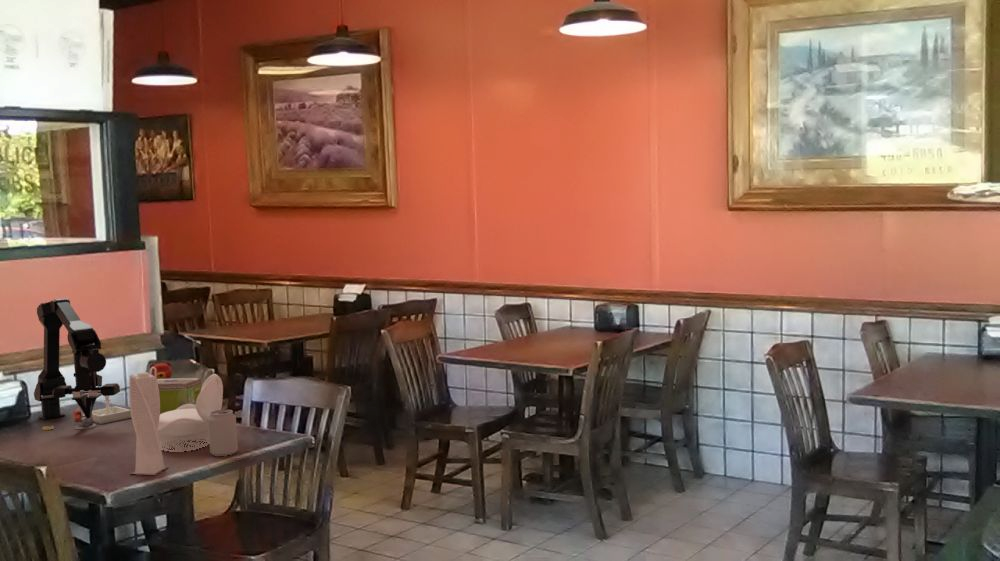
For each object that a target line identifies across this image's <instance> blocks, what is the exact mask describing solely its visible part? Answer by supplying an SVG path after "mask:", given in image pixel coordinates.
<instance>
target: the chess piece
mask: <svg viewBox="0 0 1000 561" xmlns="http://www.w3.org/2000/svg"><path fill="white" fill-rule="evenodd" d="M103 401H104V402H105V408H106V410H105V414H103V415H107V414H112V413H111V410H110V407H111V406H110V401H111V399H110V396H104V399H103ZM101 416H102V415H101Z"/></svg>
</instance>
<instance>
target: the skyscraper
mask: <svg viewBox="0 0 1000 561" xmlns="http://www.w3.org/2000/svg"><path fill="white" fill-rule="evenodd" d="M153 368H154V369H155V376H153V375H151V373H152V369H153ZM149 369H150V368H149ZM156 372H157V369H156V368H155V367H151V369H150V370H149V372H145V371H143V372H137V375H134V374H130V375H129V382H128V384H129V385H128V386H129V387H128V388H129V390H128V391H129V394H128V395H129V407H130V409H129V410H131V417H132V418H131V421H132V425H133V428H134V432H135V436H136V439H135V440H136V441H135V442H136V443H135V470H134V471H132V472H130V473H129V475H130V474H132V473H133V474H153V475H155V474H156V473H158V472H160V471H161V470H164V469H166V468H168V469H169V466H165V463H164V456H163V450H161V446H160V439H159V437H158V433H157V432H158V425H159V417H160V397H159V389H158V383H157V377H156ZM166 470H167V469H166ZM164 471H165V470H164ZM160 473H161V472H160ZM155 476H156V475H155Z"/></svg>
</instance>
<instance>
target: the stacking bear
mask: <svg viewBox="0 0 1000 561" xmlns="http://www.w3.org/2000/svg"><path fill="white" fill-rule="evenodd" d="M151 367H155V368H156V369H157V372H156V377H157V379H169V378H172V374H173V371H172V368H171V367H172V364H171V362H165V363H163V362H159V363H156V364H155V363H151V364H150V365H149V369H151ZM151 375H153V376H155V369H154V368H153V369H152V373H151Z"/></svg>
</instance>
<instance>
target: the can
mask: <svg viewBox="0 0 1000 561" xmlns="http://www.w3.org/2000/svg"><path fill="white" fill-rule="evenodd" d="M233 412H234V411H233V410H232V409H221V410H217V411H213V412H211V413H210V417H209V418H208V429H209V453H210V454H211V455H213V456H214V455H216V456H215V457H217V456H224V457H228V456H227V455H230V456H233V455H235V454H236V452H237V451H238V450H239V446H238V445H239V444H238V443H239V442H238V430H237V429H238V428H237V416H236V415H235V414H234V413H233ZM234 453H235V454H234ZM232 454H233V455H232Z"/></svg>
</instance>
